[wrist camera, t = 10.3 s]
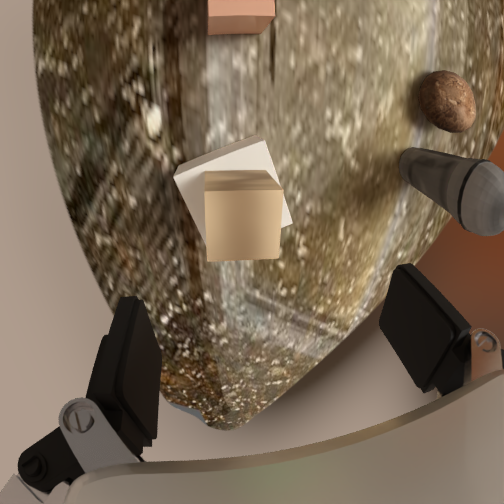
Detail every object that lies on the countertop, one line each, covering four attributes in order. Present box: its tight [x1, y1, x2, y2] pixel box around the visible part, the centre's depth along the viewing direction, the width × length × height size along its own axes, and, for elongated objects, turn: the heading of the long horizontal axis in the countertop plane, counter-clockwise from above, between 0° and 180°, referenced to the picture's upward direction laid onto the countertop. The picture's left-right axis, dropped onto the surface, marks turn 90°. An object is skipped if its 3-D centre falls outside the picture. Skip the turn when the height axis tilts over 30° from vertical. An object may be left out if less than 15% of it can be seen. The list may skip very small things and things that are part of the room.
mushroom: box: [418, 70, 476, 133], centre depth 24 cm, size 8×8×6 cm
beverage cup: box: [399, 147, 504, 236], centre depth 21 cm, size 7×7×20 cm
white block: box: [173, 135, 293, 244], centre depth 26 cm, size 8×8×5 cm
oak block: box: [204, 170, 284, 262], centre depth 22 cm, size 5×5×6 cm
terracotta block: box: [207, 0, 275, 35], centre depth 17 cm, size 5×5×6 cm
